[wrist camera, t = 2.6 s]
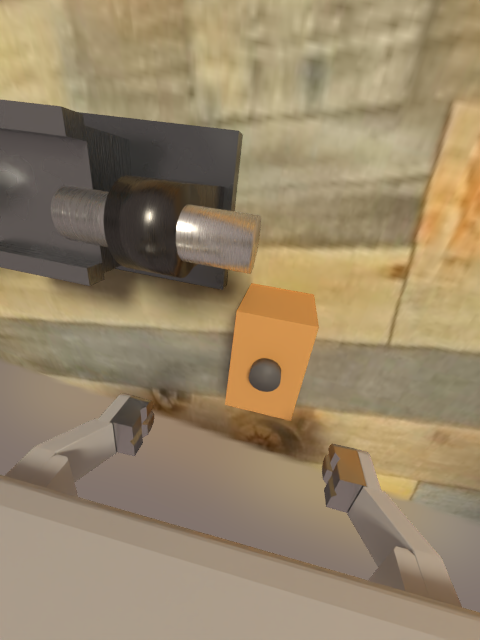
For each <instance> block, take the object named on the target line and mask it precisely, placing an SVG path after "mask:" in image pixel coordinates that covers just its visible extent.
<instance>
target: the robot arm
mask: <svg viewBox="0 0 480 640" xmlns="http://www.w3.org/2000/svg"><path fill="white" fill-rule="evenodd" d="M153 407H154V402H153V401H151V400H147V399H143V398H140V397H136V396H132V395H128V394H124V393H122V394H120V395H119V396H118V397H117V398H116V399H115V400H114V401H113V402H112V404H111V405H110V406H109V407H108V408H107V409H106V410H105V412H104V413H103V414H102V415H101V416H100V417H99V418H98V419H93V420H91V421H88V422H87V423H84V424H82V425H80V426H78V427H76V428H73V429H71V430H69V431H67V432H65V433H63V434H61V435H59V436H56V437H54V438H52V439H50V440H48V441H46V442H44V443H41V444H39V445H37V446H35V447H34V448H33V449H32V450H31V451H30V452H29V453H27V455H25V456H24V457H23V458H22V459H21V460H20V461H19V462H18V463H17V464H16V465H15V466H14V467H13V468H12V469H11V470H10V471H9V472H8V473H7V474H6V475H5V476H3V475H0V640H480V613H479V612H476V611H472V610H469V609H466V608H462V606H461V603H460V601H459V598H458V596H457V594H456V592H455V589H454V587H453V585H452V582H451V580H450V577H449V575H448V572H447V570H446V568H445V565H444V563H443V560H442V558H441V557H440V556H439V554H438V553H437V552H436V551H435V550H434V549H433V547H432V546H431V545H430V544H429V543H428V541H427V540H426V539H425V538H424V537H423V536H422V534H421V533H420V532H419V531H418V530H417V529H416V528H415V526H414V525H413V524H412V523H411V522H410V521H409V519H408V518H407V517H406V516H405V514H404V513H403V512H402V511H401V510H400V509H399V507H398V506H397V505H396V504H395V503H394V502H393V500H392V499H391V498H390V497H389V496H388V495H387V493H386V492H384V491H381V488H380V485H379V482H378V478H377V475H376V472H375V469H374V466H373V463H372V460H371V456H370V454H369V453H368V452H366V451H362V450H357V449H354V448H349V447H345V446H341V445H336V444H331V445H330V446H329V448H328V451H329V454H328V455H326V456H325V458H324V461H323V466H322V475H323V480H324V481H325V482H326V484H327V485H326V487H325V489H324V492H325V499H326V507H329V508H332V509H336V510H339V511H343V512H346V513H348V514H347V515H348V516H349V518H350V520H351V521H352V523H353V525H354V527H355V528H356V530H357V532H358V533H359V535H360V537H361V539H362V540H363V542H364V544H365V545H366V547H367V549H368V550H369V552H370V554H371V556H372V557H373V559H374V561H375V563H376V564H377V566H378V569H377V570H376V571H375V572H374V574H373V575H372V576H371V577H370V578H369V580H365V579H361V578H358V577H354V576H350V575H347V574H344V573H340V572H337V571H333V570H330V569H326V568H323V567H319V566H316V565H312V564H309V563H305V562H302V561H298V560H295V559H291V558H288V557H285V556H281V555H277V554H274V553H271V552H267V551H263V550H260V549H257V548H253V547H250V546H246V545H243V544H240V543H236V542H233V541H229V540H226V539H222V538H219V537H215V536H212V535H208V534H205V533H201V532H198V531H194V530H191V529H187V528H184V527H180V526H177V525H174V524H170V523H167V522H163V521H160V520H156V519H153V518H149V517H146V516H142V515H139V514H135V513H132V512H128V511H125V510H121V509H118V508H114V507H111V506H107V505H104V504H100V503H96V502H93V501H90V500H86V499H83V498H80V497H78V496H77V490H76V487H75V482H76V481H77V480H79V479H80V478H82V477H83V476H84V475H86V474H87V473H89V472H90V471H92V470H93V469H94V468H96V467H97V466H99V465H100V464H101V463H103V462H104V461H106V460H107V459H109V458H110V457H111V456H113V455H114V454H116V452H119V453H123V454H128V455H132V456H135V455H136V453H137V451H138V450H139V448H140V447H141V445H142V443H143V441H142V438H143V437H144V436H146V435H148V433H149V431H150V430H151V427H152V425H153V422H154V413H153V412H152V409H153Z"/></svg>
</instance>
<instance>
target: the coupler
mask: <svg viewBox="0 0 480 640" xmlns="http://www.w3.org/2000/svg"><path fill="white" fill-rule="evenodd" d="M318 328H319V326H318V319H317V312H316V306H315V299H314V295H313V294H308V293H302V292H297V291H291V290H286V289H280V288H275V287H269V286H264V285H258V284H253V283H251V285H250V287H249V289H248V291H247V293H246V294H245V296H244V298H243V300H242V302H241V304H240V306H239V308H238V310H237V312H236V321H235V329H234V337H233V345H232V353H231V361H230V369H229V377H228V385H227V393H226V401H225V405H228V406H232V407H236V408H240V409H244V410H249V411H253V412H257V413H261V414H265V415H269V416H273V417H277V418H281V419H285V420H289V421H291V418H292V415H293V411H294V408H295V405H296V401H297V398H298V395H299V391H300V388H301V385H302V381H303V378H304V375H305V371H306V368H307V365H308V361H309V358H310V355H311V351H312V348H313V345H314V341H315V338H316V335H317V331H318Z"/></svg>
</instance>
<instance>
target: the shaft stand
mask: <svg viewBox="0 0 480 640" xmlns="http://www.w3.org/2000/svg"><path fill="white" fill-rule="evenodd" d="M242 136H243V135H242V134H241V133H240V132H239V131H235V130H226V129H218V128H209V127H200V126H192V125H183V124H175V123H166V122H157V121H149V120H140V119H131V118H123V117H114V116H105V115H97V114H88V113H79V112H75V111H72V110H69V109H66V108H64V107H60V106H51V105H43V104H34V103H25V102H16V101H8V100H0V267H2V268H7V269H11V270H16V271H21V272H26V273H31V274H35V275H40V276H45V277H50V278H55V279H59V280H64V281H69V282H74V283H78V284H83V285H88V286H90V285H93V284H95V283H97V282H100V281H102V280H104V272H107V271H109V270H112V269H114V268H115V269H120V270H125V271H130V272H135V273H140V274H145V275H151V276H156V277H161V278H166V279H171V280H176V281H181V282H186V283H191V284H196V285H201V286H206V287H211V288H217V289H222V290H223V289H224V288H225V287H226V285H227V276H228V270H233V271H238V272H244V273H249V274H250V273H251V271H252V269H253V266H254V262H255V258H256V254H257V249H258V243H259V237H260V228H261V217H260V215H253V214H247V213H240V212H234V211H235V201H236V192H237V183H238V173H239V164H240V155H241V145H242Z"/></svg>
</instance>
